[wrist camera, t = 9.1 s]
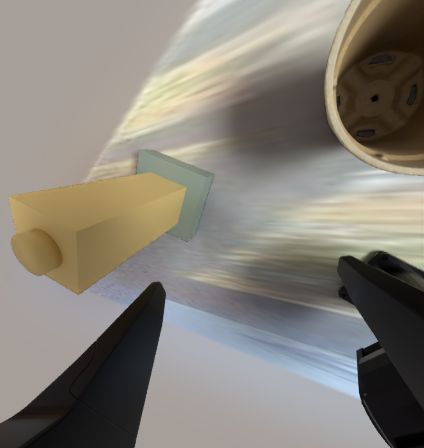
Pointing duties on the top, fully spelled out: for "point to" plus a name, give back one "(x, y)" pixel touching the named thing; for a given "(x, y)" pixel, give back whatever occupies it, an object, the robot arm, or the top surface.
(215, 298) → the top surface
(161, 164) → the plinth brick
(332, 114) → the flower pot
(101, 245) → the tower brick
